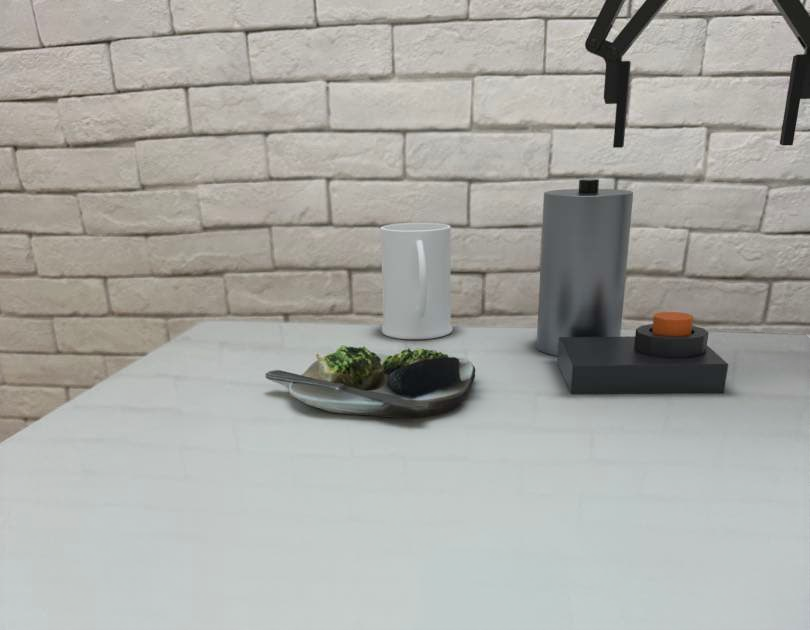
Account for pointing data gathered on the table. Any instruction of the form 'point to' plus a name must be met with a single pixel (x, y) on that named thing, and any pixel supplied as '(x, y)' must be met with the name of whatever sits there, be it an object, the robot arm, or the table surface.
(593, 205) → the grey canister
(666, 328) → the kettle button
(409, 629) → the table surface
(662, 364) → the dark grey button base
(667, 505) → the table surface
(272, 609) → the table surface
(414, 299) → the mug
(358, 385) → the salad plate
